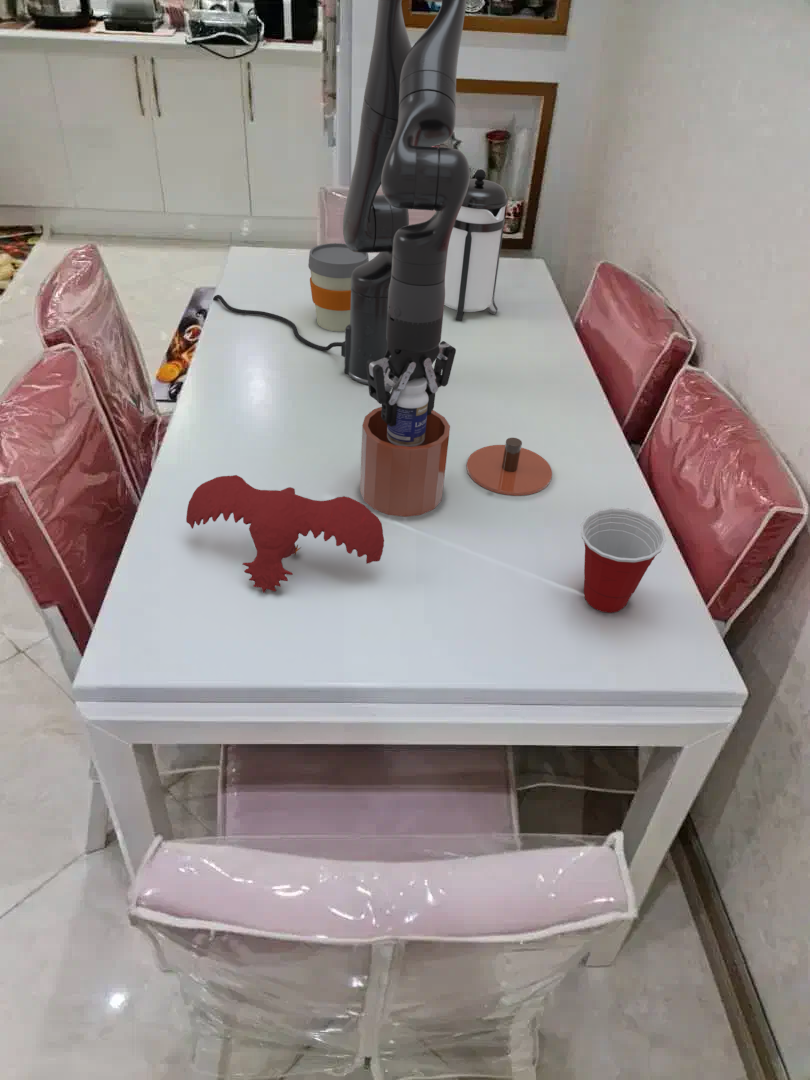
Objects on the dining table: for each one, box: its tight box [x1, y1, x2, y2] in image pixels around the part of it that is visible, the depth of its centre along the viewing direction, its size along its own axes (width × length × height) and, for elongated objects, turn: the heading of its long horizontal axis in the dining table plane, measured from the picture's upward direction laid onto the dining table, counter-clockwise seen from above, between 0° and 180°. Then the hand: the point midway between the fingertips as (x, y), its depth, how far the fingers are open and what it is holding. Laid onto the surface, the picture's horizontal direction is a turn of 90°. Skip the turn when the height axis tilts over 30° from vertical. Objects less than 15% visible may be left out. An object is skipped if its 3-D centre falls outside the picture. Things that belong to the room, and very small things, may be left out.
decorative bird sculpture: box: [185, 474, 385, 594], centre depth 110 cm, size 28×9×15 cm
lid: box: [466, 437, 553, 497], centre depth 132 cm, size 14×14×6 cm
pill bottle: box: [387, 376, 429, 447], centre depth 118 cm, size 6×6×10 cm
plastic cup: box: [579, 507, 667, 614], centre depth 107 cm, size 11×11×12 cm
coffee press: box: [444, 168, 509, 322], centre depth 176 cm, size 17×16×30 cm
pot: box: [359, 406, 451, 518], centre depth 123 cm, size 13×13×12 cm
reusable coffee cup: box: [307, 242, 370, 333], centre depth 170 cm, size 13×13×15 cm
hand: (407, 417), depth 119 cm, fingers closed on pill bottle, 5 cm apart
